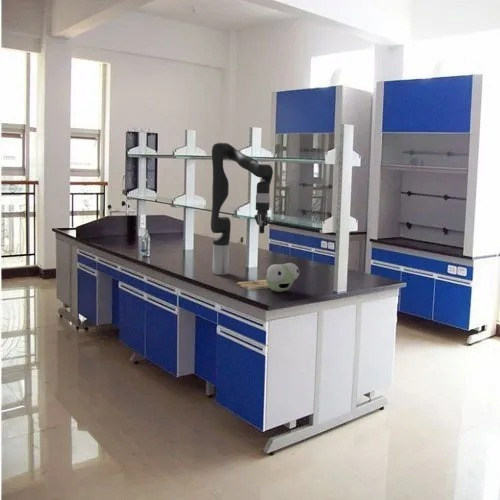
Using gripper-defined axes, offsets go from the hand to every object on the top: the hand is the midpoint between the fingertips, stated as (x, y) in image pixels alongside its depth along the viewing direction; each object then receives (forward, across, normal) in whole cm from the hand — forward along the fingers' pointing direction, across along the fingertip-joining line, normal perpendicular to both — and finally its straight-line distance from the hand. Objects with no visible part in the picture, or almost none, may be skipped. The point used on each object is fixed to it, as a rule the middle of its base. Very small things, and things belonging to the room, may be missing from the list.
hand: (261, 233), depth 326 cm
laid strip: (+27, +14, -8) cm, 31 cm away
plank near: (+27, +7, -12) cm, 30 cm away
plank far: (+27, +7, -3) cm, 28 cm away
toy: (+27, +25, -4) cm, 37 cm away
